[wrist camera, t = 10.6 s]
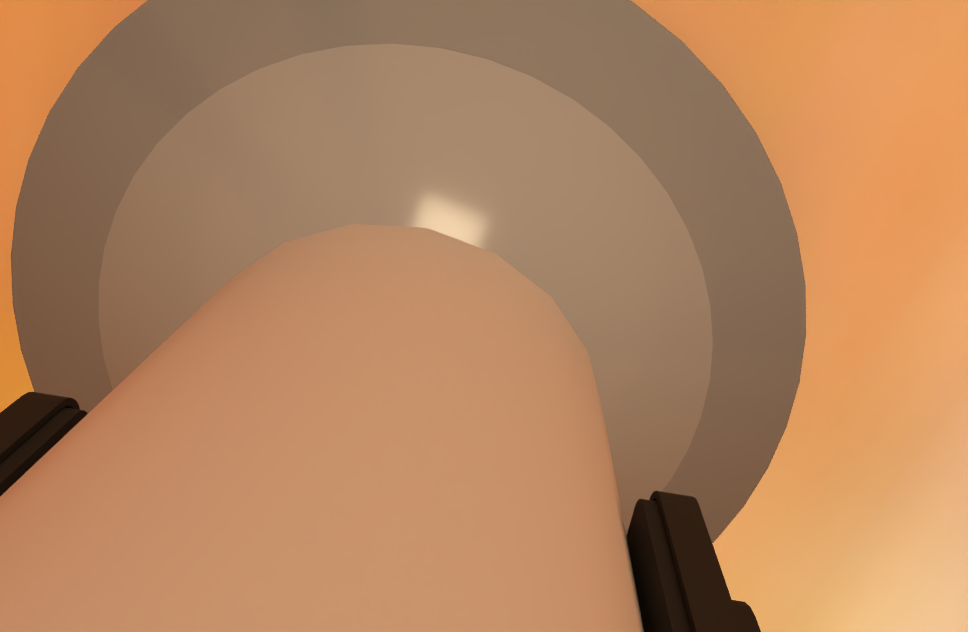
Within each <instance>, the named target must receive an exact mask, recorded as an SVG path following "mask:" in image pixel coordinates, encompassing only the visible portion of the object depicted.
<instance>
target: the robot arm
mask: <svg viewBox="0 0 968 632" xmlns="http://www.w3.org/2000/svg"><path fill="white" fill-rule="evenodd" d="M87 414H88V413H87V412H86V411H84V410H80V407H79V404H78V403H77V401H76V400H75V399H73V398H69V397H63V396H57V395H50V394H44V393H38V392H28V393H26V394H24V395H23V396H21V397H20V398H19V399H17V400H16V401H15V402H14V403H12V404H11V405H10V406H9V407H7V408H6V409H5V410H3V411H2V412H1V413H0V496H1V495H3V494H4V493H5V492H6V491H7V490H8V489H9V488H10V487H11V486H12V485H13V484H14V483H15V482H16V481H17V480H18V479H19V478H21V477H22V476H23V475H24V474H25V473H26V472H27V471H28V470H29V469H30V468H31V467H32V466H33V465H34V464H35V463H36V462H37V461H39V460H40V459H41V458H42V457H43V456H44V455H45V454H46V453H47V452H48V451H49V450H50V449H51V448H52V447H53V446H54V445H55V444H57V443H58V442H59V441H60V440H61V439H62V438H63V437H64V436H65V435H66V434H67V433H68V432H69V431H70V430H71V429H72V428H73V427H75V426H76V425H77V424H78V423H79V422H80V421H81V420H82V419H83V418H84V417H85V416H86V415H87ZM626 538H627V543H628V548H629V554H630V559H631V564H632V570H633V575H634V580H635V586H636V591H637V596H638V602H639V607H640V612H641V618H642V623H643V628H644V632H761V631H760V628H759V626H758V623H757V620H756V617H755V615H754V613H753V611H752V609H751V607H750V606H749V605H747V604H746V603H745V602H741V601H735V600H731V597H730V594H729V591H728V588H727V585H726V582H725V579H724V576H723V574H722V571H721V568H720V565H719V562H718V559H717V556H716V553H715V550H714V547H713V544H712V541H711V538H710V536H709V533H708V530H707V527H706V524H705V521H704V518H703V515H702V512H701V509H700V506H699V503H698V501H697V499H696V498H695V497H693V496H686V495H680V494H674V493H668V492H661V491H654V492H653V493H652V495H651V496H650V499H649V500H645V499H638V501H637V502H636V505H635V508H634V511H633V515H632V518H631V522H630V525H629V529H628V532H627V536H626Z"/></svg>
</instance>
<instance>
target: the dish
mask: <svg viewBox="0 0 968 632" xmlns="http://www.w3.org/2000/svg"><path fill="white" fill-rule="evenodd" d="M351 224H368V225H385V226H403V227H420V228H429V229H431V230H434V231H437V232H439V233H442V234H445V235H447V236H450V237H453V238H455V239H458V240H461V241H463V242H466V243H469V244H471V245H474V246H477V247H479V248H482V249H485V250H487V251H490V252H493V253H495V254H497V255H498V256H500V257H501V258H502V259H504V260H505V261H506V262H507V263H509V264H510V265H511V266H512V267H514V268H515V269H516V270H518V271H519V272H520V273H521V274H523V275H524V276H525V277H527V278H528V279H529V280H530V281H532V282H533V283H534V284H536V285H537V286H538V287H539V288H541V289H542V290H543V291H545V292H546V293H547V294H548V295H550V296H551V297H552V298H553V300H554V301H555V303H556V304H557V306H558V307H559V309H560V310H561V312H562V313H563V315H564V316H565V318H566V319H567V321H568V322H569V324H570V325H571V327H572V328H573V330H574V331H575V333H576V334H577V336H578V337H579V339H580V340H581V342H582V343H583V345H584V346H585V348H586V349H587V351H588V353H589V357H590V361H591V365H592V369H593V373H594V377H595V381H596V385H597V389H598V393H599V398H600V402H601V406H602V410H603V415H604V420H605V425H606V431H607V436H608V441H609V447H610V452H611V457H612V463H613V468H614V473H615V479H616V484H617V489H618V495H619V500H620V505H621V511H622V516H623V521H624V527H625V532H626V536H627V532H628V529H629V525H630V522H631V518H632V515H633V511H634V508H635V505H636V502H637V501H638V499H645V500H649V499H650V496H651V495H652V493H653V492H654V491H661V492H668V493H674V494H680V495H686V496H693V497H695V498H696V499H697V501H698V503H699V506H700V509H701V512H702V515H703V518H704V521H705V524H706V527H707V530H708V533H709V536H710V538H711V541H712V543H713V542H714V541H715V540H716V539H717V538H718V537H719V535H720V534H721V533H722V532H723V531H724V529H725V528H726V527H727V526H728V525H729V523H730V522H731V521H732V520H733V519H734V517H735V516H736V515H737V514H738V513H739V511H740V510H741V509H742V508H743V506H744V505H745V504H746V502H747V500H748V499H749V497H750V496H751V494H752V492H753V491H754V489H755V488H756V486H757V484H758V483H759V481H760V480H761V478H762V476H763V475H764V473H765V472H766V470H767V469H768V466H769V464H770V462H771V460H772V458H773V455H774V453H775V451H776V449H777V447H778V444H779V442H780V440H781V438H782V435H783V433H784V431H785V429H786V426H787V423H788V419H789V416H790V413H791V409H792V406H793V402H794V399H795V395H796V392H797V388H798V385H799V381H800V374H801V366H802V359H803V352H804V345H805V337H806V298H805V280H804V274H803V267H802V261H801V255H800V249H799V242H798V236H797V232H796V229H795V226H794V223H793V220H792V216H791V213H790V210H789V207H788V204H787V201H786V198H785V194H784V191H783V188H782V185H781V182H780V180H779V178H778V176H777V174H776V172H775V170H774V168H773V166H772V164H771V162H770V160H769V158H768V156H767V154H766V152H765V150H764V148H763V146H762V144H761V142H760V140H759V138H758V136H757V134H756V132H755V131H754V129H753V128H752V126H751V125H750V123H749V122H748V120H747V119H746V118H745V116H744V115H743V113H742V112H741V110H740V109H739V107H738V106H737V105H736V103H735V102H734V100H733V99H732V97H731V96H730V94H729V93H728V92H727V90H726V89H725V87H724V86H723V85H722V83H721V82H720V81H719V80H718V79H717V78H716V77H715V76H714V75H713V74H712V73H711V72H710V71H709V70H708V69H707V67H706V66H705V65H704V64H703V63H702V62H701V61H700V60H699V59H698V58H697V57H696V56H695V55H694V54H693V53H692V51H691V50H690V49H689V48H688V47H687V46H686V45H685V44H684V43H683V42H682V41H681V40H680V39H679V38H677V37H676V36H675V35H674V34H672V33H671V32H670V31H669V30H667V29H666V28H665V27H663V26H662V25H661V24H660V23H658V22H657V21H656V20H655V19H653V18H652V17H651V16H650V15H648V14H647V13H646V12H645V11H643V10H642V9H641V8H640V7H638V6H637V5H636V4H635V3H633V2H632V1H630V0H148V1H146V2H145V3H144V4H143V5H142V6H140V7H139V8H138V9H137V10H135V11H134V12H133V13H132V14H130V15H129V16H128V17H127V18H125V19H124V20H123V21H122V22H120V23H119V24H118V25H117V26H115V27H114V28H113V29H112V31H111V32H110V33H109V34H108V35H107V36H106V37H105V38H104V39H103V41H102V42H101V43H100V44H99V45H98V46H97V47H96V48H95V49H94V51H93V52H92V53H91V54H90V55H89V56H88V57H87V58H86V59H85V61H84V62H83V63H82V64H81V65H80V66H79V67H78V68H77V70H76V72H75V73H74V75H73V76H72V78H71V79H70V81H69V82H68V84H67V86H66V87H65V89H64V90H63V92H62V93H61V95H60V96H59V98H58V100H57V101H56V103H55V104H54V106H53V107H52V109H51V110H50V112H49V114H48V116H47V119H46V121H45V123H44V126H43V128H42V130H41V132H40V135H39V137H38V139H37V142H36V144H35V146H34V148H33V151H32V153H31V155H30V158H29V160H28V164H27V168H26V172H25V175H24V179H23V183H22V187H21V191H20V194H19V198H18V202H17V206H16V213H15V222H14V232H13V241H12V251H11V270H12V295H13V307H14V313H15V319H16V324H17V330H18V335H19V341H20V346H21V351H22V354H23V357H24V360H25V363H26V367H27V370H28V373H29V376H30V379H31V382H32V385H33V388H34V391H35V392H38V393H44V394H50V395H57V396H63V397H69V398H73V399H75V400H76V401H77V403H78V404H79V407H80V410H84V411H86V412H87V413H89V412H90V411H91V410H93V409H94V408H95V407H96V406H97V405H98V404H99V403H100V402H101V401H102V400H103V399H104V398H105V397H106V396H107V395H108V394H109V393H111V392H112V391H113V390H114V389H115V388H116V387H117V386H118V385H119V384H120V383H121V382H122V381H123V380H124V379H125V378H126V377H127V376H129V375H130V374H131V373H132V372H133V371H134V370H135V369H136V368H137V367H138V366H139V365H140V364H141V363H142V362H143V361H144V360H145V359H147V358H148V357H149V356H150V355H151V354H152V353H153V352H154V351H155V350H156V349H157V348H158V347H159V346H160V345H161V344H162V343H163V342H165V341H166V340H167V339H168V338H169V337H170V336H171V335H172V334H173V333H174V332H175V331H176V330H177V329H178V328H179V327H180V326H181V325H183V324H184V323H185V322H186V321H187V320H188V319H189V318H190V317H191V316H192V315H193V314H194V313H195V312H196V311H197V310H198V309H199V308H201V307H202V306H203V305H204V304H205V303H206V302H207V301H208V300H209V299H210V298H211V297H212V296H213V295H214V294H215V293H216V292H217V291H219V290H220V289H221V288H222V287H223V286H224V285H225V284H226V283H227V282H228V281H229V280H230V279H231V278H232V277H234V276H235V275H237V274H238V273H240V272H241V271H243V270H244V269H246V268H247V267H249V266H250V265H252V264H253V263H255V262H256V261H258V260H259V259H261V258H262V257H264V256H265V255H267V254H268V253H270V252H271V251H272V250H274V249H275V248H277V247H278V246H280V245H281V244H283V243H284V242H286V241H289V240H293V239H297V238H301V237H305V236H309V235H312V234H316V233H320V232H324V231H328V230H332V229H335V228H339V227H343V226H347V225H351Z"/></svg>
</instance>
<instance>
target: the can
mask: <svg viewBox="0 0 968 632" xmlns="http://www.w3.org/2000/svg"><path fill="white" fill-rule="evenodd" d="M0 632H644V628H643V623H642V618H641V612H640V607H639V602H638V596H637V591H636V586H635V580H634V575H633V570H632V564H631V559H630V554H629V548H628V543H627V538H626V532H625V527H624V521H623V516H622V511H621V505H620V500H619V495H618V489H617V484H616V479H615V473H614V468H613V463H612V457H611V452H610V447H609V441H608V436H607V431H606V425H605V420H604V415H603V410H602V406H601V402H600V398H599V393H598V389H597V385H596V381H595V377H594V373H593V369H592V365H591V361H590V357H589V353H588V351H587V349H586V348H585V346H584V345H583V343H582V342H581V340H580V339H579V337H578V336H577V334H576V333H575V331H574V330H573V328H572V327H571V325H570V324H569V322H568V321H567V319H566V318H565V316H564V315H563V313H562V312H561V310H560V309H559V307H558V306H557V304H556V303H555V301H554V300H553V298H552V297H551V296H550V295H548V294H547V293H546V292H545V291H543V290H542V289H541V288H539V287H538V286H537V285H536V284H534V283H533V282H532V281H530V280H529V279H528V278H527V277H525V276H524V275H523V274H521V273H520V272H519V271H518V270H516V269H515V268H514V267H512V266H511V265H510V264H509V263H507V262H506V261H505V260H504V259H502V258H501V257H500V256H498V255H497V254H495V253H493V252H490V251H487V250H485V249H482V248H479V247H477V246H474V245H471V244H469V243H466V242H463V241H461V240H458V239H455V238H453V237H450V236H447V235H445V234H442V233H439V232H437V231H434V230H431V229H429V228H420V227H403V226H385V225H368V224H351V225H347V226H343V227H339V228H335V229H332V230H328V231H324V232H320V233H316V234H312V235H309V236H305V237H301V238H297V239H293V240H289V241H286V242H284V243H283V244H281V245H280V246H278V247H277V248H275V249H274V250H272V251H271V252H270V253H268V254H267V255H265V256H264V257H262V258H261V259H259V260H258V261H256V262H255V263H253V264H252V265H250V266H249V267H247V268H246V269H244V270H243V271H241V272H240V273H238V274H237V275H235V276H234V277H232V278H231V279H230V280H229V281H228V282H227V283H226V284H225V285H224V286H223V287H222V288H221V289H220V290H219V291H217V292H216V293H215V294H214V295H213V296H212V297H211V298H210V299H209V300H208V301H207V302H206V303H205V304H204V305H203V306H202V307H201V308H199V309H198V310H197V311H196V312H195V313H194V314H193V315H192V316H191V317H190V318H189V319H188V320H187V321H186V322H185V323H184V324H183V325H181V326H180V327H179V328H178V329H177V330H176V331H175V332H174V333H173V334H172V335H171V336H170V337H169V338H168V339H167V340H166V341H165V342H163V343H162V344H161V345H160V346H159V347H158V348H157V349H156V350H155V351H154V352H153V353H152V354H151V355H150V356H149V357H148V358H147V359H145V360H144V361H143V362H142V363H141V364H140V365H139V366H138V367H137V368H136V369H135V370H134V371H133V372H132V373H131V374H130V375H129V376H127V377H126V378H125V379H124V380H123V381H122V382H121V383H120V384H119V385H118V386H117V387H116V388H115V389H114V390H113V391H112V392H111V393H109V394H108V395H107V396H106V397H105V398H104V399H103V400H102V401H101V402H100V403H99V404H98V405H97V406H96V407H95V408H94V409H93V410H91V411H90V412H89V413H88V414H87V415H86V416H85V417H84V418H83V419H82V420H81V421H80V422H79V423H78V424H77V425H76V426H75V427H73V428H72V429H71V430H70V431H69V432H68V433H67V434H66V435H65V436H64V437H63V438H62V439H61V440H60V441H59V442H58V443H57V444H55V445H54V446H53V447H52V448H51V449H50V450H49V451H48V452H47V453H46V454H45V455H44V456H43V457H42V458H41V459H40V460H39V461H37V462H36V463H35V464H34V465H33V466H32V467H31V468H30V469H29V470H28V471H27V472H26V473H25V474H24V475H23V476H22V477H21V478H19V479H18V480H17V481H16V482H15V483H14V484H13V485H12V486H11V487H10V488H9V489H8V490H7V491H6V492H5V493H4V494H3V495H1V496H0Z"/></svg>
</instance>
